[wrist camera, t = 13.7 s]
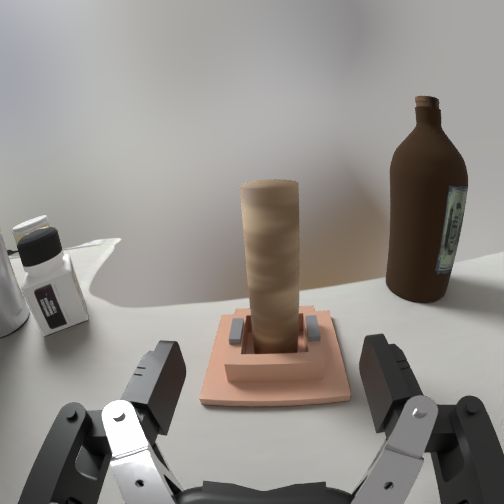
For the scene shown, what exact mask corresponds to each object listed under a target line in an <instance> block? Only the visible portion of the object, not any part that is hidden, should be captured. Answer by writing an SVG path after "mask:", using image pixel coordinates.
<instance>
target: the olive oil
mask: <svg viewBox="0 0 504 504" xmlns="http://www.w3.org/2000/svg"><path fill="white" fill-rule="evenodd" d="M415 101H416V106H417V107H415V111H416V122H417V124H416V127H415V129H414V130H413V131H412V132H411V133H410V134H409V136H408V137H407V138H406V139H405V140H404V141H403V142H402V143H401V144H400V145H399V146H398V148H397V149H396V151H395V152H394V155H393V158H392V162H391V166H390V198H391V200H390V202H391V212H390V240H389V253H388V264H387V273H386V284H387V286H388V288H389V289H390V290H391V291H392V292H393V293H395V294H396V295H398V296H400V297H402V298H404V299H407V300H410V301H415V302H433V301H436V300H438V299H440V298H442V297H443V296H444V294H445V292H446V289H447V286H448V282H449V278H450V275H451V271H452V267H453V263H454V259H455V255H456V251H457V246H458V242H459V237H460V232H461V227H462V222H463V216H464V210H465V204H466V197H467V190H468V175H467V170H466V165H465V162H464V160H463V158H462V156H461V154H460V153H459V152H458V150H457V149H456V148H455V146H454V145H453V143H452V142H451V141H450V140H449V139H448V137H447V135H446V134H445V133H444V131H443V130H442V127H441V110H440V109H439V99H437V98H435V97H430V96H417V97H415Z"/></svg>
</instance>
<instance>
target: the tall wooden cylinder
mask: <svg viewBox="0 0 504 504" xmlns="http://www.w3.org/2000/svg"><path fill="white" fill-rule="evenodd" d="M240 194H241V206H242V218H243V231H244V242H245V254H246V265H247V277H248V288H249V299H250V311H251V322H252V333H253V343H254V354H281V353H297V351H298V324H299V193H298V182H296V181H291V180H261V181H253V182H247V183H244V184H241V185H240Z"/></svg>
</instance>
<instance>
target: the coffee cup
mask: <svg viewBox="0 0 504 504" xmlns="http://www.w3.org/2000/svg"><path fill="white" fill-rule="evenodd" d="M44 227H50V226H49V218H47V216H46V215H44V216H40V217H36V218H33V219H30V220H28V221H25V222H23V223H21V224H19V225H17V226H15V227H14V228H13V235H14V238H15V241H16V244H18V242H19V240H20V239H21V238H22V237H23V236H24V235H26V234H28V233H30V232H32V231H35V230H37V229H40V228H44Z"/></svg>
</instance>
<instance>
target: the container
mask: <svg viewBox="0 0 504 504" xmlns="http://www.w3.org/2000/svg"><path fill="white" fill-rule="evenodd" d="M17 248H18V252H19V255H20V258H21V261H22V264H23V267H24V270H25V272H26V275H25V278H24V281H23V285H22V291H23V293H24V296H25V298H26V300H27V303H28V305H29V307H30V310H31V312H32V314H33V316H34V318H35V320H36V322H37V325H38V327H39V329H40V331H41V333H42V334H43V336H47V335H49V334H52V333H55V332H57V331H60V330H63V329H65V328H68V327H70V326H73V325H76V324H78V323H81V322H84V321H86V320H88V314H87V310H86V306H85V301H84V297H83V294H82V291H81V288H80V286H79V283H78V280H77V277H76V274H75V271H74V268H73V265H72V261H71V258H70V255H69V254H66V255H64V253H63V250H62V247H61V243H60V239H59V235H58V231H57V230H56V229H55V228H53V227H44V228H40V229H37V230H35V231H32V232H30V233H28V234H26V235H24V236H23V237H22V238H21V239H20V240H19V242H18V244H17Z"/></svg>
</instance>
